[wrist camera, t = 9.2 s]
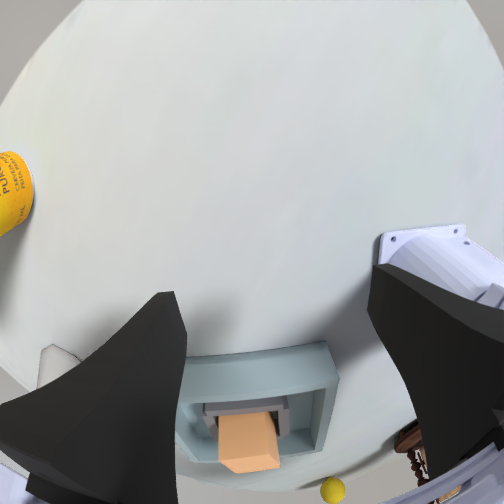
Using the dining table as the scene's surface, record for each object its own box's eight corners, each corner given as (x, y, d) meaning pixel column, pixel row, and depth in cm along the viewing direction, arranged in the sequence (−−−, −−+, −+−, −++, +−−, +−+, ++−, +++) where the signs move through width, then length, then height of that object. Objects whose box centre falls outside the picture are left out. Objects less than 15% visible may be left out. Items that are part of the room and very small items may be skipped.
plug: (261, 392, 24) (268, 453, 18) (272, 412, 26) (280, 467, 20) (218, 400, 25) (218, 460, 18) (234, 420, 27) (236, 473, 20)
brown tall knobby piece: (455, 391, 33) (499, 472, 15) (454, 414, 39) (486, 479, 21) (385, 434, 36) (416, 522, 18) (397, 448, 42) (421, 517, 23)
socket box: (325, 340, 23) (339, 378, 19) (315, 423, 30) (322, 451, 26) (151, 358, 23) (141, 395, 19) (194, 434, 30) (192, 462, 26)
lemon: (326, 474, 43) (332, 503, 36) (345, 471, 44) (353, 499, 37) (313, 481, 45) (318, 508, 38) (332, 479, 46) (338, 505, 39)
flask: (103, 372, 24) (76, 449, 15) (84, 393, 26) (61, 457, 17) (48, 333, 22) (7, 404, 13) (37, 360, 24) (6, 420, 15)
